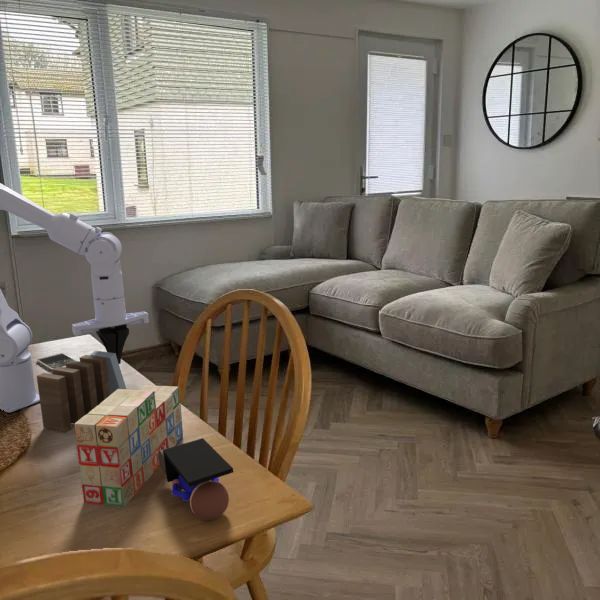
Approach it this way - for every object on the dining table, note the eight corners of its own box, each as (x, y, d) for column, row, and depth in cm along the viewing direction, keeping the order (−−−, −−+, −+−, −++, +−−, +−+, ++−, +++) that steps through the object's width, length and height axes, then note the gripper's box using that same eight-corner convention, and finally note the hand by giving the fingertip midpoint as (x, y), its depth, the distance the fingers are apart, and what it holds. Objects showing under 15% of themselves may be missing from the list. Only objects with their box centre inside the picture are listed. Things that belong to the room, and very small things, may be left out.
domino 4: (105, 410, 113) (100, 360, 111) (85, 406, 115) (79, 357, 113) (111, 407, 115) (106, 357, 112) (91, 403, 117) (85, 354, 114)
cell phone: (53, 375, 134) (53, 369, 133) (35, 364, 141) (34, 358, 141) (80, 368, 138) (79, 362, 137) (61, 357, 146) (60, 352, 145)
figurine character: (157, 491, 88) (193, 534, 75) (151, 441, 87) (186, 476, 74) (200, 478, 92) (242, 517, 78) (195, 430, 90) (236, 461, 77)
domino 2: (79, 425, 107) (72, 372, 105) (58, 420, 109) (51, 369, 107) (85, 421, 109) (79, 369, 106) (64, 417, 111) (58, 366, 108)
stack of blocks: (149, 434, 103) (143, 367, 100) (183, 437, 102) (178, 369, 99) (83, 504, 83) (73, 422, 80) (124, 508, 82) (116, 425, 79)
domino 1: (64, 433, 104) (58, 379, 102) (43, 428, 106) (36, 375, 104) (71, 429, 106) (65, 376, 103) (50, 424, 108) (43, 372, 105)
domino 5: (123, 400, 118) (110, 357, 113) (103, 396, 120) (89, 354, 115) (128, 395, 119) (115, 353, 114) (108, 392, 121) (95, 350, 116)
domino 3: (92, 417, 110) (86, 366, 108) (72, 413, 112) (65, 363, 110) (98, 414, 112) (93, 363, 109) (78, 410, 114) (72, 360, 111)
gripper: (136, 287, 123) (142, 350, 126) (64, 299, 114) (72, 366, 117) (150, 293, 117) (156, 359, 120) (75, 305, 109) (83, 375, 112)
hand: (115, 363), depth 118 cm, fingers closed
